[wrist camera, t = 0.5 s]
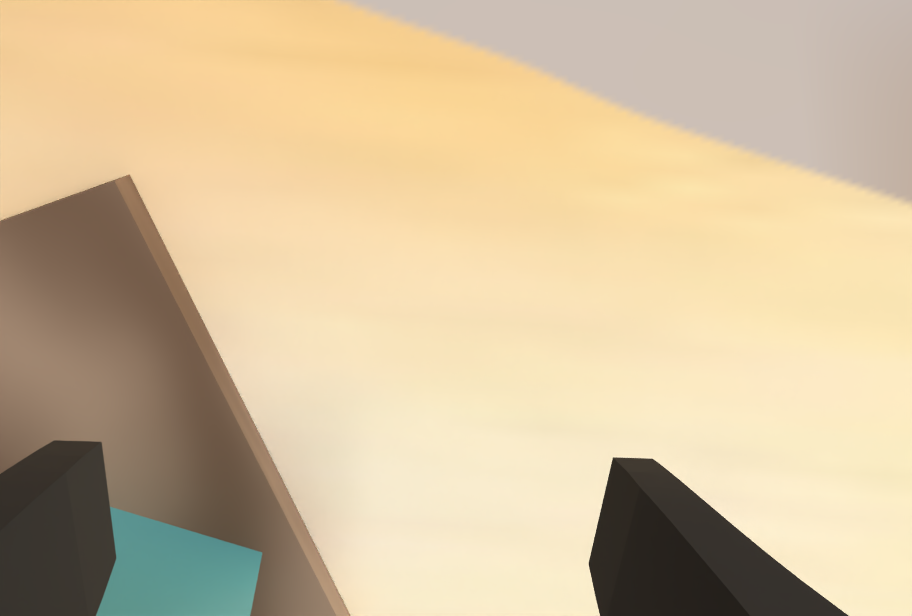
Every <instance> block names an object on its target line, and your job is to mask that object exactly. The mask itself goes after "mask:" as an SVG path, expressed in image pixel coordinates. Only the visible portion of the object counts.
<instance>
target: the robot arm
mask: <svg viewBox="0 0 912 616" xmlns="http://www.w3.org/2000/svg"><path fill="white" fill-rule="evenodd" d="M115 561H116V550H115V542H114V534H113V527H112V519H111V511H110V503H109V495H108V487H107V480H106V472H105V464H104V456H103V448H102V442H94V441H61V440H54V441H52V442H50V443H49V444H47V445H45V446H44V447H42V448H40V449H38V450H37V451H35V452H34V453H32V454H30V455H29V456H27V457H26V458H24V459H23V460H21V461H19V462H18V463H16V464H15V465H13V466H12V467H10V468H9V469H7V470H5V471H4V472H2V473H1V474H0V616H96V614H97V612H98V609H99V606H100V604H101V601H102V598H103V596H104V593H105V590H106V587H107V584H108V581H109V578H110V576H111V573H112V570H113V567H114V564H115ZM589 568H590V572H591V577H592V582H593V586H594V591H595V596H596V600H597V604H598V609H599V613H600V616H848V615H847V614H845V613H844V612H843V611H841V610H840V609H839V608H837V607H836V606H835V605H833V604H832V603H831V602H829V601H828V600H827V599H825V598H824V597H823V596H821V595H820V594H819V593H817V592H816V591H815V590H813V589H812V588H811V587H809V586H808V585H807V584H805V583H804V582H803V581H801V580H800V579H799V578H797V577H796V576H795V575H794V574H792V573H791V572H790V571H789V570H787V569H786V568H785V567H783V566H782V565H781V564H780V563H778V562H777V561H776V560H775V559H773V558H772V557H771V556H770V555H768V554H767V553H766V552H765V551H763V550H762V549H761V548H760V547H759V546H757V545H756V544H755V543H754V542H753V541H751V540H750V539H749V538H748V537H746V536H745V535H744V534H743V533H742V532H740V531H739V530H738V529H737V528H736V527H734V526H733V525H732V524H731V523H730V522H728V521H727V520H726V519H725V518H724V517H723V516H721V515H720V514H719V513H718V512H717V511H715V510H714V509H713V508H712V507H711V506H710V505H708V504H707V503H706V502H705V501H704V500H703V499H701V498H700V497H699V496H698V495H697V494H695V493H694V492H693V491H692V490H691V489H690V488H688V487H687V486H686V485H685V484H684V483H682V482H681V481H680V480H679V479H678V478H676V477H675V476H674V475H673V474H672V473H670V472H669V471H668V470H667V469H665V468H664V467H663V466H661V465H660V464H659V463H657V462H656V461H655V460H653V459H642V458H613V460H612V464H611V469H610V473H609V477H608V482H607V486H606V490H605V495H604V499H603V504H602V508H601V512H600V517H599V521H598V525H597V530H596V534H595V538H594V543H593V547H592V551H591V556H590V560H589Z"/></svg>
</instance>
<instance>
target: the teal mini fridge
mask: <svg viewBox="0 0 912 616" xmlns="http://www.w3.org/2000/svg"><path fill="white" fill-rule="evenodd" d="M110 511H111V519H112V527H113V534H114V542H115V550H116V561H115V564H114V567H113V570H112V573H111V576H110V578H109V581H108V584H107V587H106V590H105V593H104V596H103V598H102V601H101V604H100V606H99V609H98V612H97V614H96V616H250V614H251V609H252V604H253V599H254V594H255V588H256V583H257V578H258V573H259V568H260V563H261V558H262V552H259V551H255V550H252V549H249V548H245V547H242V546H239V545H236V544H232V543H229V542H226V541H222V540H219V539H216V538H212V537H209V536H206V535H202V534H199V533H196V532H192V531H189V530H186V529H182V528H179V527H176V526H173V525H169V524H166V523H163V522H159V521H156V520H153V519H149V518H146V517H143V516H139V515H136V514H133V513H129V512H126V511H123V510H120V509H116V508H113V507H110Z"/></svg>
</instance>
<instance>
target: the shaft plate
mask: <svg viewBox="0 0 912 616" xmlns="http://www.w3.org/2000/svg"><path fill="white" fill-rule="evenodd" d="M54 440H61V441H94V442H102V448H103V456H104V464H105V472H106V480H107V487H108V495H109V503H110V507H113V508H116V509H120V510H123V511H126V512H129V513H133V514H136V515H139V516H143V517H146V518H149V519H153V520H156V521H159V522H163V523H166V524H169V525H173V526H176V527H179V528H182V529H186V530H189V531H192V532H196V533H199V534H202V535H206V536H209V537H212V538H216V539H219V540H222V541H226V542H229V543H232V544H236V545H239V546H242V547H245V548H249V549H252V550H255V551H259V552H262V558H261V563H260V568H259V573H258V578H257V583H256V588H255V594H254V599H253V604H252V609H251V614H250V616H350V614H349V612H348V610H347V608H346V606H345V604H344V602H343V600H342V598H341V596H340V594H339V592H338V590H337V588H336V586H335V584H334V582H333V580H332V578H331V576H330V574H329V572H328V570H327V568H326V566H325V564H324V562H323V560H322V558H321V556H320V554H319V552H318V550H317V548H316V546H315V544H314V542H313V540H312V538H311V536H310V534H309V532H308V530H307V528H306V526H305V524H304V522H303V520H302V518H301V516H300V514H299V512H298V510H297V508H296V506H295V504H294V502H293V500H292V498H291V496H290V494H289V492H288V490H287V488H286V486H285V484H284V482H283V480H282V478H281V476H280V474H279V472H278V470H277V468H276V466H275V464H274V462H273V460H272V458H271V456H270V454H269V452H268V450H267V448H266V446H265V444H264V442H263V440H262V438H261V436H260V434H259V432H258V430H257V428H256V426H255V424H254V422H253V420H252V418H251V416H250V414H249V412H248V410H247V408H246V406H245V404H244V402H243V400H242V398H241V396H240V394H239V392H238V390H237V388H236V386H235V384H234V382H233V380H232V378H231V376H230V374H229V372H228V370H227V368H226V366H225V364H224V362H223V360H222V358H221V356H220V354H219V352H218V350H217V348H216V346H215V344H214V342H213V340H212V339H211V337H210V335H209V333H208V331H207V329H206V327H205V325H204V323H203V321H202V319H201V317H200V315H199V313H198V311H197V309H196V307H195V305H194V303H193V301H192V299H191V297H190V295H189V293H188V291H187V289H186V287H185V285H184V283H183V281H182V279H181V277H180V275H179V273H178V271H177V269H176V267H175V265H174V263H173V261H172V259H171V257H170V255H169V253H168V251H167V249H166V247H165V245H164V243H163V241H162V239H161V237H160V235H159V233H158V231H157V229H156V227H155V225H154V223H153V221H152V219H151V217H150V215H149V213H148V211H147V209H146V207H145V205H144V203H143V201H142V199H141V197H140V195H139V193H138V191H137V189H136V187H135V185H134V183H133V181H132V179H131V177H130V175H127V176H125V177H122V178H119V179H116V180H113V181H111V182H108V183H105V184H102V185H99V186H97V187H94V188H91V189H88V190H85V191H83V192H80V193H77V194H74V195H71V196H69V197H66V198H63V199H60V200H57V201H54V202H52V203H49V204H46V205H43V206H40V207H38V208H35V209H32V210H29V211H26V212H24V213H21V214H18V215H15V216H12V217H10V218H7V219H4V220H1V221H0V474H1V473H2V472H4V471H5V470H7V469H9V468H10V467H12V466H13V465H15V464H16V463H18V462H19V461H21V460H23V459H24V458H26V457H27V456H29V455H30V454H32V453H34V452H35V451H37V450H38V449H40V448H42V447H44V446H45V445H47V444H49V443H50V442H52V441H54Z"/></svg>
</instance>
